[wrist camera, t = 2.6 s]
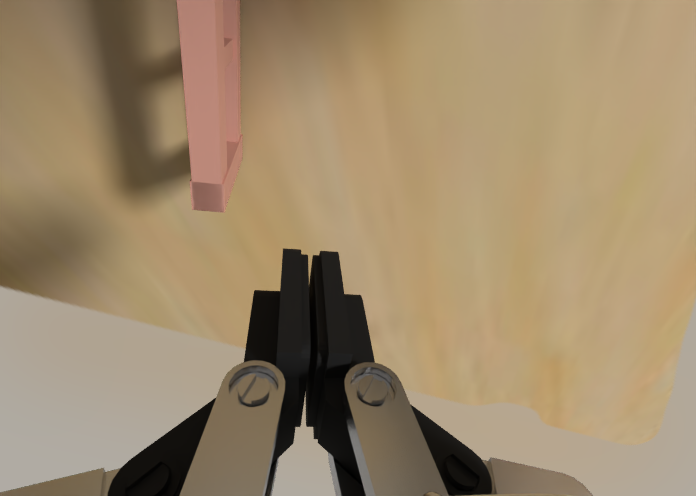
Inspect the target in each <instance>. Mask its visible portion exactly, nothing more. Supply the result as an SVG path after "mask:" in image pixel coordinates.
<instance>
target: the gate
mask: <svg viewBox="0 0 696 496" xmlns="http://www.w3.org/2000/svg"><path fill="white" fill-rule="evenodd" d="M177 10H178V22H179V34H180V46H181V58H182V70H183V82H184V94H185V106H186V118H187V130H188V142H189V153H190V165H191V177H192V178H191V180H190V190H191V202H192V210H201V211H213V212H225V209H226V206H227V203H228V200H229V197H230V194H231V191H232V188H233V185H234V182H235V179H236V176H237V173H238V170H239V167H240V164H241V161H242V135H241V89H240V0H177Z"/></svg>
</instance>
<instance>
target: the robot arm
mask: <svg viewBox="0 0 696 496" xmlns="http://www.w3.org/2000/svg"><path fill="white" fill-rule="evenodd" d="M305 391H306V426H307V427H313V429H314V439H318V443H319V444H320V445H321V446H322V447H323V448H324V449H325V450H327V451H328V456H329V465H330V469H331V474H332V479H333V484H334V488H335V493H336V496H593V495H592V494H591V493H590V491H589V490H588V489H587V488H586V487H585V486H584V485H583V484H582V483H581V482H579V481H577V480H576V479H575V478H574V477H571V476H569V475H566V474H563V473H560V472H555V471H551V470H546V469H541V468H536V467H532V466H527V465H523V464H518V463H514V462H510V461H505V460H500V459H495V458H490V459H489V461H486V460H481V458H480V457H479V456H477V455H476V454H475V453H474V452H473V451H472V450H471V449H469V448H468V447H467V446H465V445H464V444H462V443H461V442H460V441H459V440H457V439H456V438H454V437H453V436H452V435H450V434H449V433H448V432H447V431H445V430H444V429H443V428H441V427H440V426H439V425H437V424H436V423H435V422H433V421H432V420H431V419H429V418H428V417H426V416H425V415H424V414H423V413H421V412H420V411H418V410H417V409H416V408H414V407H413V406H412V405H410V403H409V401H408V398H407V396H406V393H405V391H404V388H403V386H402V384H401V382H400V380H399V378H398V377H397V375H396V374H395V373H394V372H393V371H392V370H391V369H389V368H387V367H385V366H384V365H381V364H378V363H375V361H374V356H373V351H372V346H371V341H370V335H369V330H368V325H367V320H366V315H365V310H364V305H363V300H362V297H361V295H349V294H344V289H343V282H342V275H341V268H340V261H339V254H338V252H329V251H320V254H319V256H318V255H313V259H312V267H311V275H310V283H309V276H308V255H302V254H301V250H297V249H283V259H282V274H281V288H280V291H261V290H255V291H254V296H253V303H252V310H251V316H250V323H249V330H248V337H247V344H246V351H245V358H244V362H243V363H241V364H239V365H237V366H235V367H233V368H232V369H231V370H230V371H229V372H228V373H227V374H226V376H225V378H224V380H223V381H222V384H221V387H220V389H219V392H218V395H217V397H216V398H215V399H213V400H212V401H211V402H209V403H208V404H207V405H205V406H204V407H202V408H201V409H200V410H198V411H197V412H196V413H194V414H193V415H191V416H190V417H189V418H187V419H186V420H184V421H183V422H182V423H180V424H179V425H178V426H176V427H175V428H173V429H172V430H171V431H169V432H168V433H166V434H165V435H164V436H162V437H161V438H159V439H158V440H157V441H155V442H154V443H153V444H151V445H150V446H149V447H147V448H146V449H144V450H143V451H141V452H140V453H139V454H137V455H136V456H135V457H133V458H132V459H131V460H129V461H128V462H127V463H126V464H125V465H124V466H123V467H122V468H120V469H116V470H112V471H107V472H105V470H104V468H101V469H97V470H92V471H88V472H84V473H80V474H76V475H71V476H68V477H63V478H59V479H55V480H51V481H46V482H42V483H38V484H34V485H29V486H25V487H21V488H17V489H13V490H9V491H4V492H0V496H272V491H273V486H274V481H275V476H276V471H277V465H278V458H279V456H281V455H282V454H283V453H284V451H286V450H287V449H288V448H289V447H290V446H291V445H292V444H293V441H294V433H295V427H300V425H301V419H302V412H303V405H304V397H305Z"/></svg>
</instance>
